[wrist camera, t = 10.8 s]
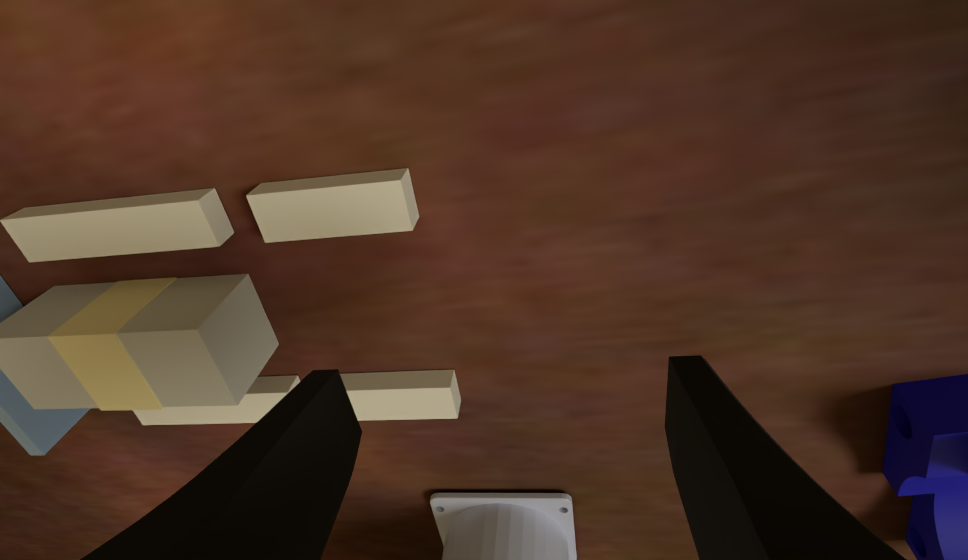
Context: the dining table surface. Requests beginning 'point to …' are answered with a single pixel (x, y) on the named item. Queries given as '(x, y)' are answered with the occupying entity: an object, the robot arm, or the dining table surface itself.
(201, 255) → the dining table surface
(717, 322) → the dining table surface
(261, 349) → the banded cream box
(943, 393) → the navy blue l-shaped piece
